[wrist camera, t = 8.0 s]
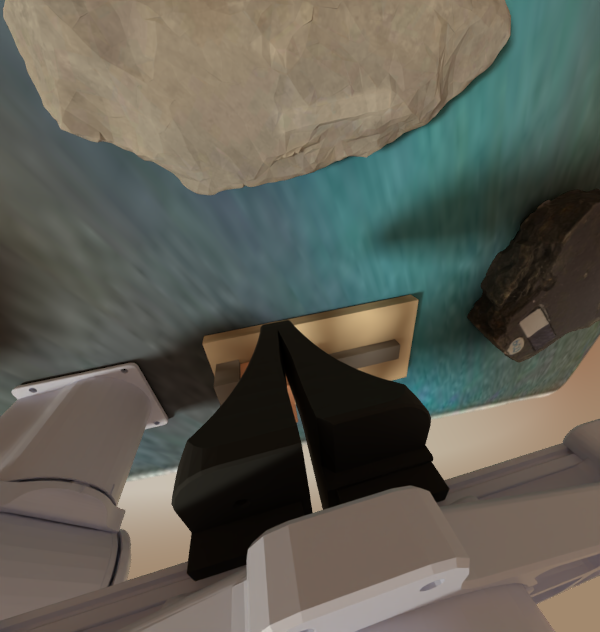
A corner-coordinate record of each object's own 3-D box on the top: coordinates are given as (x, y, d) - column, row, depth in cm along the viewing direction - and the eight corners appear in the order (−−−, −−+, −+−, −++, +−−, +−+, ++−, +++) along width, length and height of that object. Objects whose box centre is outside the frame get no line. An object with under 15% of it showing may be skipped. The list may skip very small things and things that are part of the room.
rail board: (231, 410, 27) (230, 445, 24) (204, 336, 22) (197, 365, 19) (400, 369, 30) (421, 395, 26) (411, 294, 25) (438, 314, 21)
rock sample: (503, 190, 22) (567, 193, 17) (637, 184, 24) (720, 186, 20) (447, 350, 30) (481, 379, 26) (550, 333, 33) (596, 356, 29)
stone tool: (-198, -275, 6) (618, -202, 9) (-18, -90, 11) (498, -81, 14) (64, 214, 12) (515, 159, 15) (111, 205, 16) (454, 163, 19)
